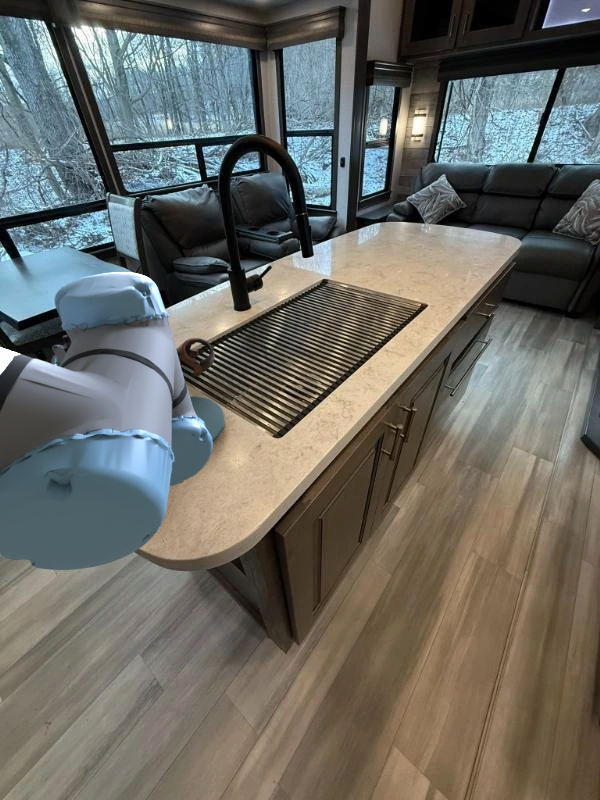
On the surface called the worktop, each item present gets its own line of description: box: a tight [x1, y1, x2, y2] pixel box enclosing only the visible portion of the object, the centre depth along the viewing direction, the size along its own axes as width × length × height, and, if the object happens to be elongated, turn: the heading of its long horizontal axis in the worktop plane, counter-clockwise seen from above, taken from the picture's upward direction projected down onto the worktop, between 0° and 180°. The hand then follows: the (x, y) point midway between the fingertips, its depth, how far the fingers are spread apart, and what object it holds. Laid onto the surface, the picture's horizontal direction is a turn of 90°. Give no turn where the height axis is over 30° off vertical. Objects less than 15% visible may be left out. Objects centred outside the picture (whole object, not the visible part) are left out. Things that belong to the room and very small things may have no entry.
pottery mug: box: [176, 337, 215, 377], centre depth 79 cm, size 12×10×8 cm
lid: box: [190, 395, 226, 443], centre depth 62 cm, size 18×18×9 cm
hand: (92, 324), depth 56 cm, fingers closed on onion, 6 cm apart
